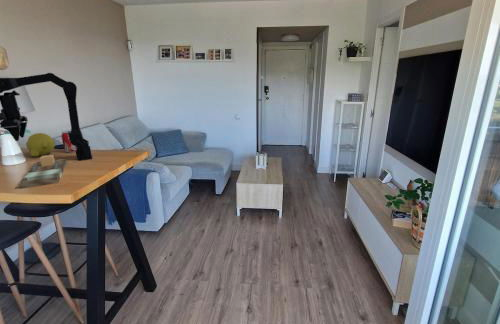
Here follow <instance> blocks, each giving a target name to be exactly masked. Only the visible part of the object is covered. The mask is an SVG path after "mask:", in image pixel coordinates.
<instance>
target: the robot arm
mask: <svg viewBox="0 0 500 324" xmlns="http://www.w3.org/2000/svg"><path fill="white" fill-rule="evenodd" d="M49 82H51V83H53V84H55V85H56V86H58V87H60V88H62V90H63V93H64V95H65V98H66V99H65V100H66V101H67V107H68V115H69V121H70V127H71V129H70V130H67V131H68V136H69V141H70V142H71V144H72V145H74V146H76V147H77V148H76V152H75V156H76V159H77V161H83V160H84V161H85V160H92V159H93V155H92V154H93V153H92V149H91V145H89V144H90V143H89V142H90V141H89V140H87V139H85V138H84V136H83V133H82V130H81V127H80V120H79V114H78V105H77V92H78V87H77V85H76V83H74V82H73V81H67V80H65V79H62V78H61V77H59V76H57V75H56V74H55V73H52V72H47V73H44V74H37V75H35V74H34V75H29V76H22V77H0V106H1V108H2V109H0V128H2V129H3V130H7V131H8V132H9V133H10V135H11V136H12V138H13V139H14V141H15V142H19V141H20V138H24V137H25V133H26V129H27V126H28V125H27V124H28V121H29V120H28V117H27V116H25V115H22V114H21V112H20V110H21V107H19V105H18V101H17V98H16V96H21V93H19V92H17V91H16V90H15V89H18V88H20V87H24V86H31V85H35V84H36V85H37V84H42V83H49ZM3 92H4V93H3Z"/></svg>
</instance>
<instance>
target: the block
mask: <svg viewBox="0 0 500 324" xmlns="http://www.w3.org/2000/svg"><path fill="white" fill-rule="evenodd" d="M39 160H40V161H39V162H41V165H42V167H43V166H50V165H53V164H54V163H55V160H56V159H55V155H54V154H47V155H42V156H39Z"/></svg>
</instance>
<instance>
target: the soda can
mask: <svg viewBox="0 0 500 324" xmlns="http://www.w3.org/2000/svg"><path fill="white" fill-rule="evenodd" d="M68 131H69V130H66V131H61V135H60V136H61V140H62V146H63V150H64V152H65V153H67V154H70V153H71V154H72V153H76V148H77V147H76V146H74V145H72V144H71V142H70V141H69V136H68Z"/></svg>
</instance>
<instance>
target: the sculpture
mask: <svg viewBox="0 0 500 324" xmlns="http://www.w3.org/2000/svg"><path fill="white" fill-rule="evenodd" d="M25 147H26V148H27V150H28V151H29V155H30V156H31V157H35V158H36V157H41V156H46V155H50V154H51V153H52V152H53V151H54V149H55V140H54V139H53V137H51V136H50V135H48V134H46V133H43V132H37V133H33V134H32V135H31V134H30V136H28V138H27V141H26V143H25Z"/></svg>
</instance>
